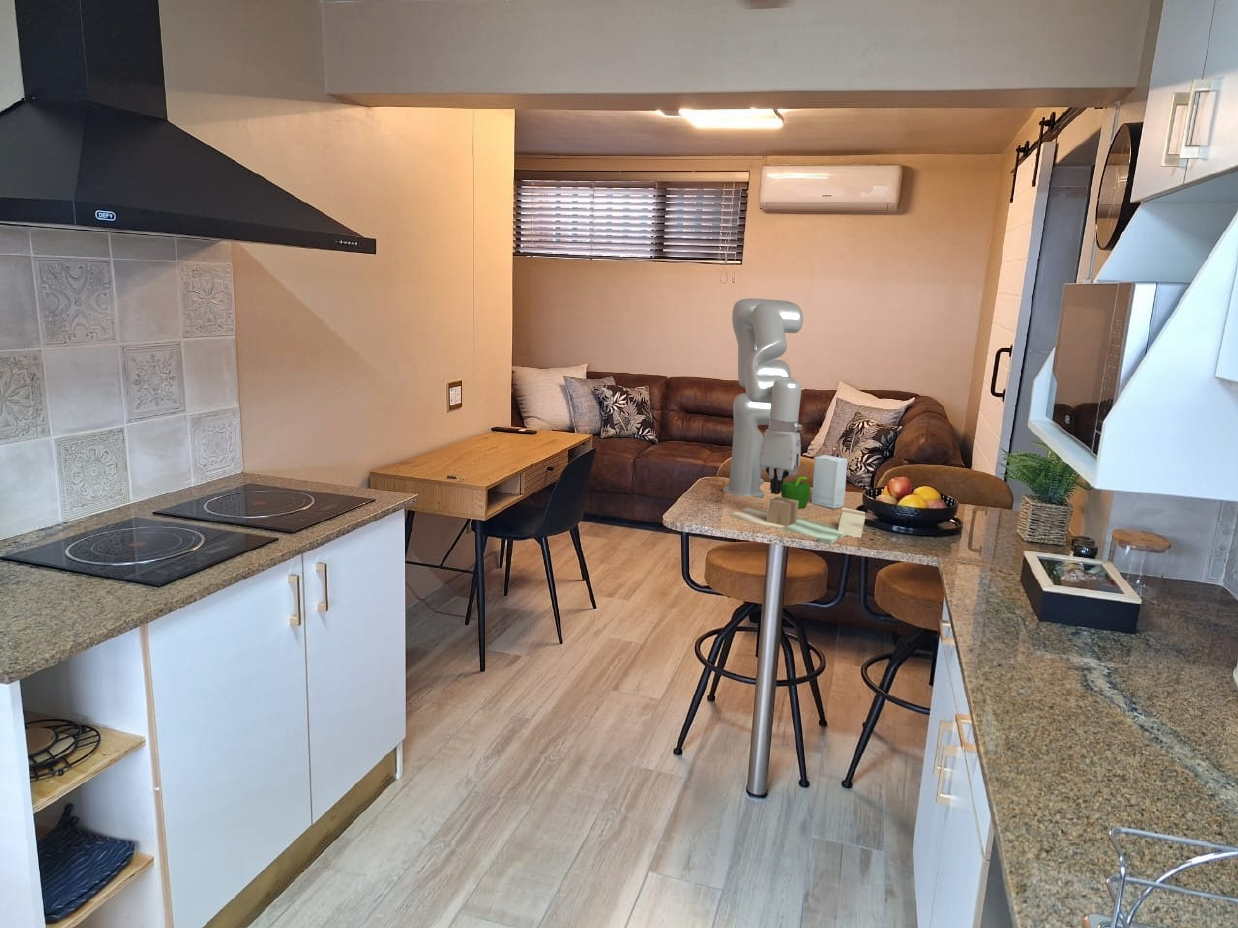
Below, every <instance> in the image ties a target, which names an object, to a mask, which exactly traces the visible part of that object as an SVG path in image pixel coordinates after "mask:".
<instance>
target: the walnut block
mask: <svg viewBox="0 0 1238 928" xmlns="http://www.w3.org/2000/svg"><path fill="white" fill-rule="evenodd" d="M798 503H799V501H797V500H792V499H787V498H783V497H782V496H776V497H774V498H771V499H768V505H767V511H768V513H767V522H770V523H774V524H778V525H783V526H789V525H791V524H794V523H796V521H797V518H798V511H799V509H798Z"/></svg>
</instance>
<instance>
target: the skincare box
mask: <svg viewBox="0 0 1238 928" xmlns="http://www.w3.org/2000/svg"><path fill="white" fill-rule="evenodd" d="M847 467H848V458H845V457H838V456H832V455H827V454H823V455H819V456H815V457H814V466H813V479H812V491H811V492H812V493H811V504H812V503H813V505H817V506H821V507H825V508H829V509H839V508H844V506H845V498H846V486H847V485H846V484H847V471H848V468H847Z"/></svg>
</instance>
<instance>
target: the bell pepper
mask: <svg viewBox="0 0 1238 928" xmlns="http://www.w3.org/2000/svg"><path fill="white" fill-rule="evenodd" d="M807 479H808V477H806V476H800V477H798V478H797V479H796V481H795V480H791V481H783V489H782V491H781V493H780V495H781V496H780V497H783V498H787V499H792V500H797V501H799V503H798V510H800V509H802V510H804V509H806V508H807V505H808V503H809V500H810V497H811V492H812V491H811V490H812V489H811V486H810V485H809V483H808V482H801V481H802V480H803V481H807Z"/></svg>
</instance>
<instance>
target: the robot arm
mask: <svg viewBox="0 0 1238 928" xmlns="http://www.w3.org/2000/svg"><path fill="white" fill-rule="evenodd" d="M731 319H732V320H731V321H732V328H733V332H734V334H735V338H736V342H737V378H738V384H739V386H740V387H741V388H743V389H745V391H746V392H743V393H739V395H736V397H735V398H734V400H733V403H732V404H733V406H732V411H733V412H732V413H733V437H732V446H731V447H732V448H731V459H730V469H729V479H728V480H729V481H728V486H724V487H723V490H722V491H723V494H731V495H734V496H741V497H753V498H759V499H761V498H763V497H764V496H765V492H764V491H763V490H762V489H761V485H763V484H765V483H764V479H763V478H762V470H763V471H765V472H766V473H767V475H768V477H769V479H770V484H769V490H770V494H772V495H779V494H781V491H782V489H783V484H784V480H785V479H786V478H788V476H796V475H798V468H799V467H800V465H801V455H802V454H801V452H802V450H801V447H802V445H801V435H800V434H801V433H800V432H798V431H802V430H803V425H802V424H800V423H799V422H800V421H799V414H800V413H799V412H800V405H801V396H802V383H800V381H797V380H796V379H795V378H794V377H792V376H791V375H792V373H791V372H792V371H791V369H790V366H789V364H788V363H787V361H784V360H782V359H779V358H781V357H782V356H783V355H784V354H785V353H786V351H787V349H788V343H787V338H786V334H797V333H799V332H800V331H801V329H802V327H803V323H804V316H803V310H802V309H801V306H799V305H798V304H797V303H794V302H792V301H789V300H784V299H783V300H782V299H769V298H768V299H766V298H765V299H764V298H752V297H751V298H743V299H740V300H738V301H736V302H735V303H734V305H733V308H732V316H731ZM759 426H768V428H767V429H765V432H764V435H763V433H762V432H761V430H760V429H759ZM778 469H779V470H778Z"/></svg>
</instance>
